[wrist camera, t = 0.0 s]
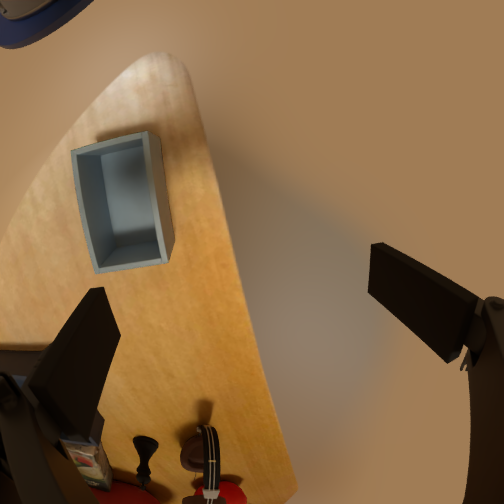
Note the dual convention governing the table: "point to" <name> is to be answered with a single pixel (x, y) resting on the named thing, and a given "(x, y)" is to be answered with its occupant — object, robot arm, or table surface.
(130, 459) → the table surface
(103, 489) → the juice carton
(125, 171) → the small bin
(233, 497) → the tomato
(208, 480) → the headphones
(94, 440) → the big bin
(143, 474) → the chess piece
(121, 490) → the mixing bowl
